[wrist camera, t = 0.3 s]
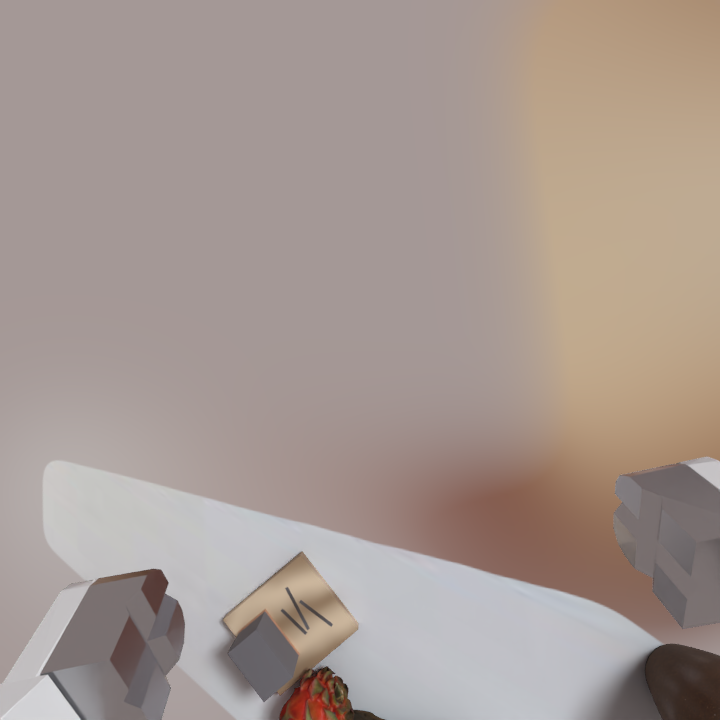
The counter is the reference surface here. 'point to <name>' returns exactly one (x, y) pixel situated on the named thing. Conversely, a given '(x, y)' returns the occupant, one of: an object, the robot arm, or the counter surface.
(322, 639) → the pine board
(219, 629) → the counter surface
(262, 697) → the block
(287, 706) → the dragon fruit
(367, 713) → the dark brown rough rod
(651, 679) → the plant pot
